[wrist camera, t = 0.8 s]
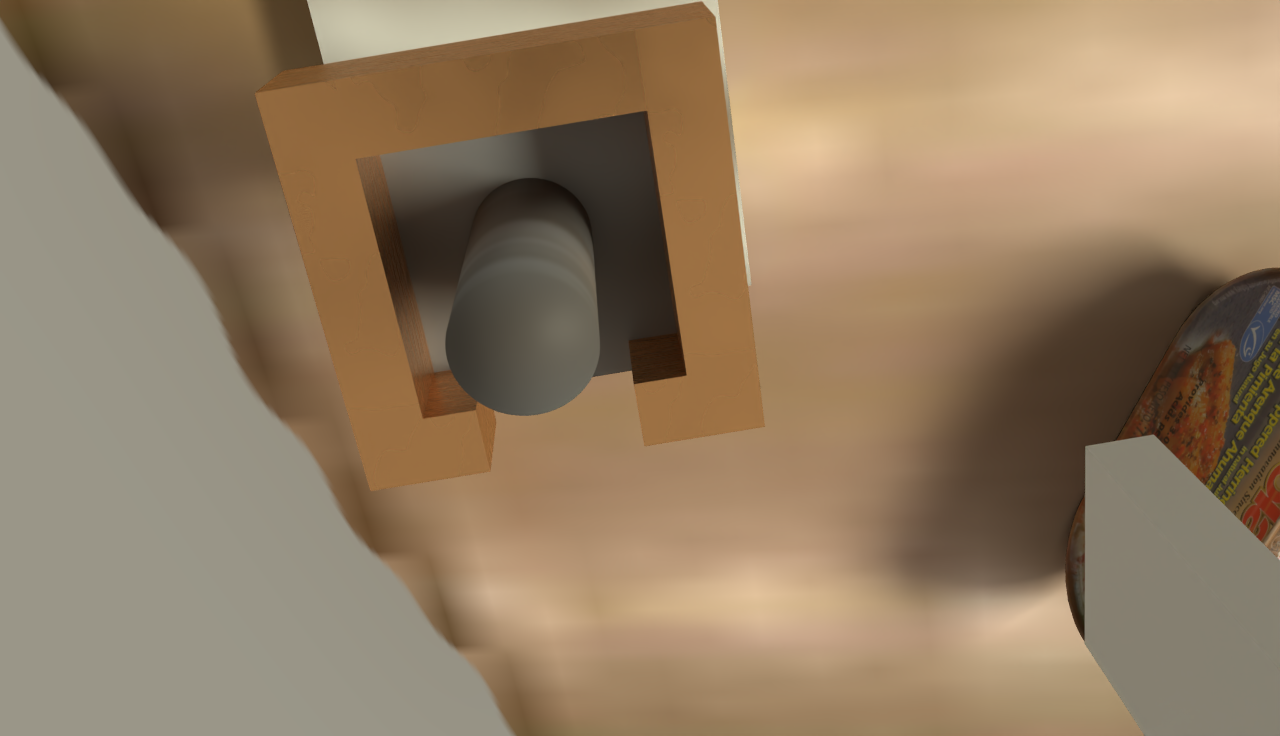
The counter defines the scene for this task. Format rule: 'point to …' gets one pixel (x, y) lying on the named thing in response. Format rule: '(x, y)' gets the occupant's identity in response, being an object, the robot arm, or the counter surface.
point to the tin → (1214, 412)
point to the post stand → (522, 216)
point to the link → (495, 105)
